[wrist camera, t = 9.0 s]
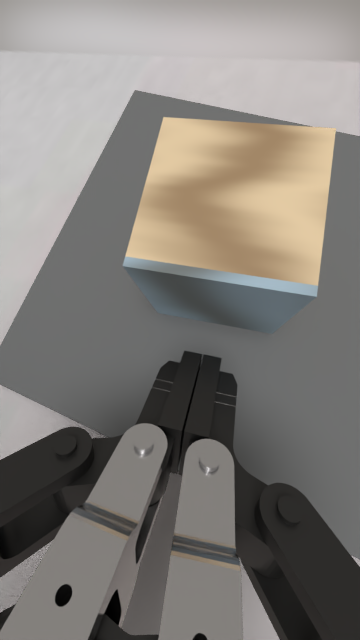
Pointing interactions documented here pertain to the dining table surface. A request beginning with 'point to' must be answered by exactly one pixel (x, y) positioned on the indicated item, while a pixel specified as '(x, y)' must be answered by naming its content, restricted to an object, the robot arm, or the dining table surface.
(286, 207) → the cube
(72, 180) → the dining table surface
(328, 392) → the mat
